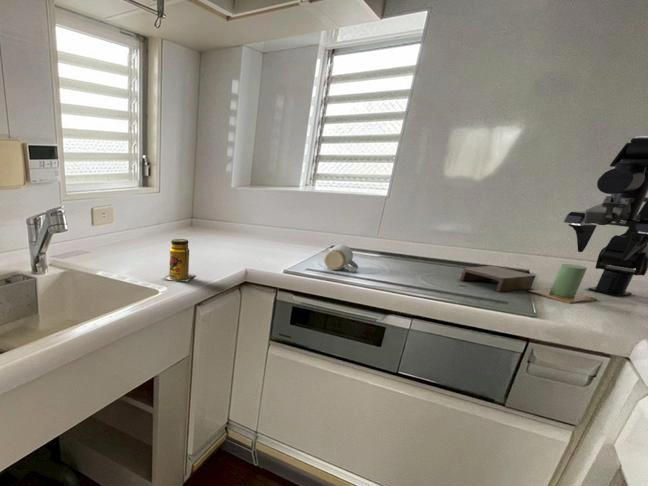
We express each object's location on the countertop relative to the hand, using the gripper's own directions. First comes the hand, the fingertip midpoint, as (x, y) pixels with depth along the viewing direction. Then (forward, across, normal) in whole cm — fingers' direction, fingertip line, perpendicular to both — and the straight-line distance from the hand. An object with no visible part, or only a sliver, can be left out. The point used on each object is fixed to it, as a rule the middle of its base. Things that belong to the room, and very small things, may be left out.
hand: (601, 255), depth 104 cm
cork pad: (+12, -3, -2) cm, 13 cm away
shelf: (+12, -16, -10) cm, 22 cm away
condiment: (+12, -44, -100) cm, 110 cm away
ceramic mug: (+12, -42, -43) cm, 62 cm away
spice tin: (+12, -3, -2) cm, 12 cm away
